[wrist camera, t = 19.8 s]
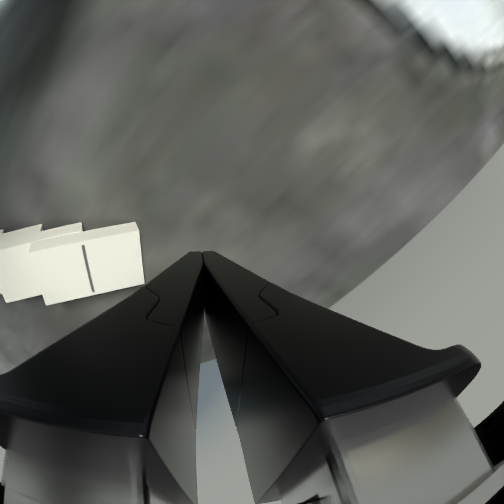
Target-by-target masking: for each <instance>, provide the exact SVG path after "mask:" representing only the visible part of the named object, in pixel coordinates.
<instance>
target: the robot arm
mask: <svg viewBox="0 0 504 504" xmlns="http://www.w3.org/2000/svg"><path fill="white" fill-rule="evenodd" d="M204 310H205V316H206V320H207V324H208V328H209V332H210V336H211V340H212V344H213V348H214V352H215V355H216V359H217V363H218V367H219V370H220V373H221V377H222V381H223V384H224V388H225V391H226V395H227V398H228V401H229V405H230V408H231V412H232V415H233V418H234V421H235V425H236V427H237V431H238V434H239V438H240V442H241V446H242V450H243V454H244V459H245V463H246V468H247V472H248V477H249V481H250V485H251V489H252V494H253V498H254V502H255V504H260V503H266V502H272V501H278V500H281V502H282V504H504V401H503V402H502V404H501V405H500V406H499V407H498V408H497V409H495V410H494V411H493V412H492V413H491V414H490V415H489V416H488V417H487V418H486V419H484V420H483V421H482V422H481V423H480V424H479V425H477V426H476V427H475V428H474V427H473V426H472V424H471V422H470V420H469V418H468V417H467V415H466V413H465V412H464V410H463V408H462V407H461V405H460V403H459V402H458V400H457V398H456V397H457V396H458V395H459V394H460V393H461V392H462V391H463V390H464V389H465V388H466V387H467V386H468V384H469V383H470V382H471V381H472V380H473V379H474V378H475V376H476V375H477V373H478V372H479V370H480V368H481V362H480V361H479V359H478V358H477V357H476V356H475V355H474V354H473V353H472V352H471V351H470V350H468V349H467V348H465V347H464V346H462V345H455V346H451V347H448V348H446V349H441V350H431V349H426V348H423V347H420V346H417V345H414V344H412V343H410V342H407V341H405V340H402V339H400V338H397V337H395V336H392V335H390V334H388V333H385V332H382V331H380V330H377V329H375V328H373V327H370V326H368V325H365V324H363V323H361V322H358V321H355V320H353V319H351V318H348V317H346V316H344V315H341V314H339V313H336V312H334V311H332V310H329V309H327V308H325V307H322V306H320V305H317V304H315V303H313V302H310V301H308V300H306V299H304V298H301V297H299V296H297V295H295V294H292V293H290V292H288V291H286V290H284V289H282V288H280V287H279V286H277V285H275V284H273V283H270V282H269V281H267V280H265V279H263V278H261V277H260V276H258V275H256V274H254V273H252V272H251V271H249V270H247V269H245V268H243V267H242V266H240V265H238V264H236V263H234V262H233V261H231V260H229V259H227V258H225V257H224V256H222V255H220V254H218V253H217V252H215V251H204V252H203V253H202V252H200V251H198V252H189V253H187V254H186V255H185V256H183V257H182V258H180V259H179V260H178V261H176V262H175V263H174V264H172V265H171V266H170V267H168V268H167V269H166V270H164V271H163V272H162V273H160V274H159V275H158V276H156V277H155V278H154V279H152V280H151V281H150V282H148V283H147V284H146V285H144V286H143V287H141V288H140V289H138V290H137V291H136V292H134V293H133V294H131V295H130V296H129V297H127V298H126V299H124V300H123V301H121V302H120V303H118V304H116V305H115V306H113V307H112V308H110V309H108V310H107V311H105V312H103V313H102V314H100V315H98V316H97V317H95V318H93V319H92V320H90V321H89V322H87V323H85V324H84V325H82V326H80V327H79V328H77V329H76V330H74V331H72V332H71V333H69V334H68V335H66V336H64V337H63V338H61V339H59V340H58V341H56V342H55V343H53V344H52V345H50V346H48V347H47V348H45V349H44V350H42V351H40V352H39V353H37V354H36V355H34V356H33V357H31V358H29V359H28V360H26V361H25V362H23V363H22V364H20V365H19V366H17V367H15V368H14V369H12V370H11V371H9V372H7V373H4V374H1V375H0V446H1V447H3V448H4V449H5V450H6V451H5V457H4V463H3V471H2V480H1V482H0V504H198V500H197V499H198V498H197V478H196V448H195V447H196V418H197V400H198V384H199V371H200V357H201V344H202V333H203V321H204Z"/></svg>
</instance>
